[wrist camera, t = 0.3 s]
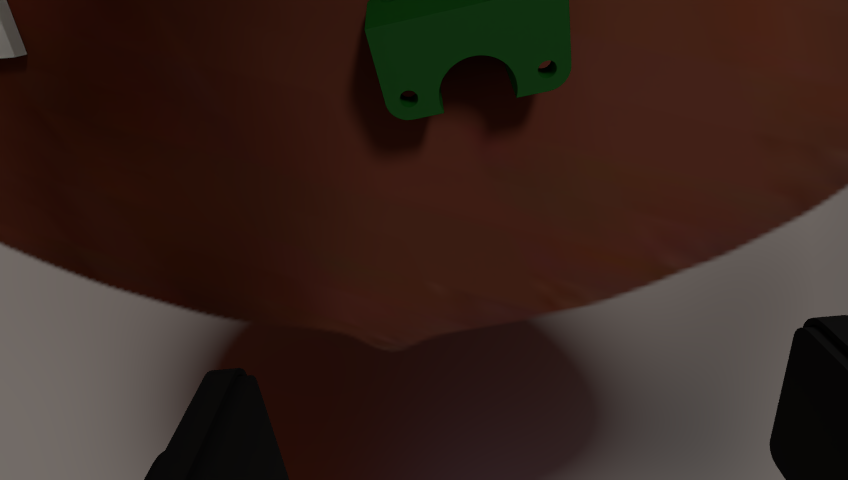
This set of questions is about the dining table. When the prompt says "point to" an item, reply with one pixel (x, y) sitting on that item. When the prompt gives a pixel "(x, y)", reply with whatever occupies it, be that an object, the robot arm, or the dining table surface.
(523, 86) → the clamp
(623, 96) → the dining table surface
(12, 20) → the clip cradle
